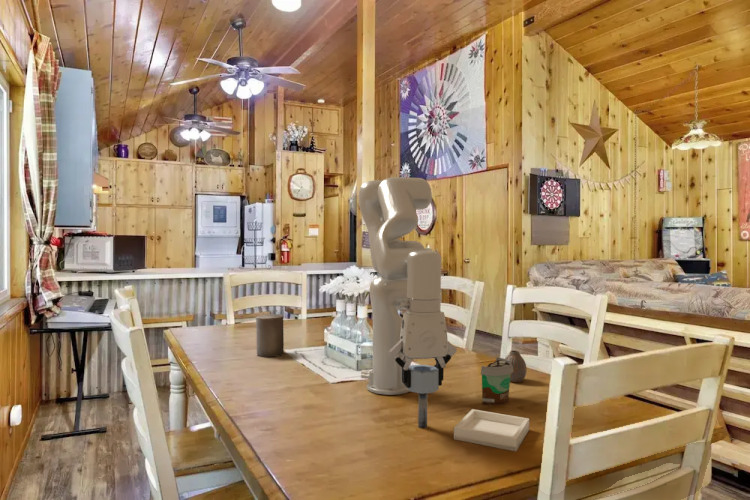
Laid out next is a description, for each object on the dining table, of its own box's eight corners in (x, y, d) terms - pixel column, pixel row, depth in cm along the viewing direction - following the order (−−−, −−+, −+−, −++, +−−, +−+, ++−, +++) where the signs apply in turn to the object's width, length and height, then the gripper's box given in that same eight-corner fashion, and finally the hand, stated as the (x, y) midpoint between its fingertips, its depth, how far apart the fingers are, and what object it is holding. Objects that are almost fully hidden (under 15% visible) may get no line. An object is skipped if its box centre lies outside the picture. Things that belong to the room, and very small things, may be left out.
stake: (415, 427, 115) (415, 388, 115) (419, 423, 118) (419, 385, 117) (425, 429, 114) (426, 390, 114) (430, 425, 116) (430, 387, 116)
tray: (453, 439, 109) (453, 427, 109) (472, 419, 120) (472, 409, 120) (516, 451, 103) (516, 439, 103) (529, 429, 114) (529, 418, 114)
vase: (527, 384, 149) (527, 354, 148) (502, 383, 150) (503, 353, 150) (525, 378, 155) (525, 349, 155) (501, 376, 157) (502, 348, 157)
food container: (504, 410, 127) (504, 370, 127) (480, 405, 130) (480, 366, 130) (518, 397, 137) (519, 359, 137) (496, 393, 141) (497, 356, 140)
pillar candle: (289, 353, 186) (289, 311, 186) (270, 358, 178) (270, 315, 178) (269, 350, 192) (269, 309, 191) (250, 355, 183) (249, 313, 183)
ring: (413, 394, 112) (413, 373, 112) (402, 383, 119) (402, 364, 119) (441, 392, 113) (442, 372, 113) (429, 381, 121) (429, 362, 121)
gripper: (391, 310, 109) (390, 393, 110) (466, 307, 114) (465, 387, 114) (381, 304, 116) (380, 382, 117) (453, 302, 121) (451, 377, 122)
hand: (422, 384), depth 116 cm, fingers closed on ring, 6 cm apart
